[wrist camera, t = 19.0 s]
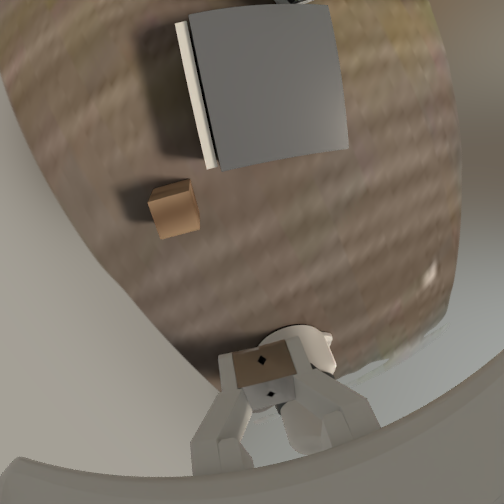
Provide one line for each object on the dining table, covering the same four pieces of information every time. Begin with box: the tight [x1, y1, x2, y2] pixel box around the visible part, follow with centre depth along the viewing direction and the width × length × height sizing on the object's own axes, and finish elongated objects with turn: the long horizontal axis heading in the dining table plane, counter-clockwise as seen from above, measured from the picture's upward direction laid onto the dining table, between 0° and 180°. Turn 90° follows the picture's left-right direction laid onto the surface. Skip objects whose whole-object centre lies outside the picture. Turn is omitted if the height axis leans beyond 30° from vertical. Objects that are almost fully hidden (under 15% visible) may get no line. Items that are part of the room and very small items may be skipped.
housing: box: [188, 4, 349, 172], centre depth 27 cm, size 18×15×6 cm
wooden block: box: [147, 179, 200, 239], centre depth 33 cm, size 5×5×5 cm
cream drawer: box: [175, 21, 218, 169], centre depth 27 cm, size 17×15×5 cm
